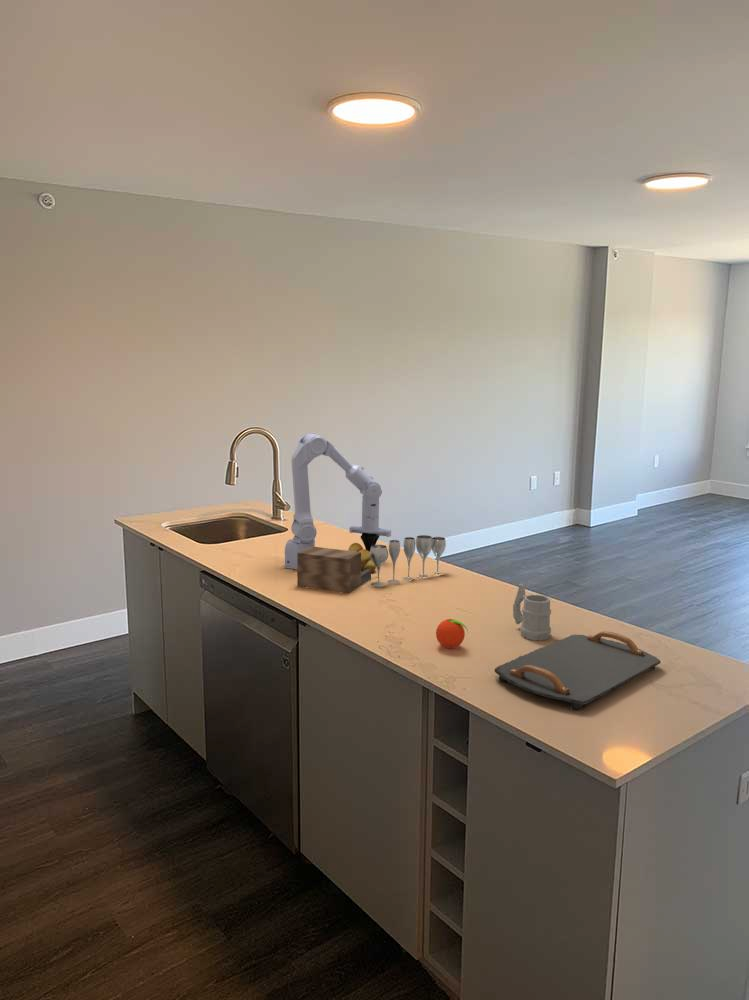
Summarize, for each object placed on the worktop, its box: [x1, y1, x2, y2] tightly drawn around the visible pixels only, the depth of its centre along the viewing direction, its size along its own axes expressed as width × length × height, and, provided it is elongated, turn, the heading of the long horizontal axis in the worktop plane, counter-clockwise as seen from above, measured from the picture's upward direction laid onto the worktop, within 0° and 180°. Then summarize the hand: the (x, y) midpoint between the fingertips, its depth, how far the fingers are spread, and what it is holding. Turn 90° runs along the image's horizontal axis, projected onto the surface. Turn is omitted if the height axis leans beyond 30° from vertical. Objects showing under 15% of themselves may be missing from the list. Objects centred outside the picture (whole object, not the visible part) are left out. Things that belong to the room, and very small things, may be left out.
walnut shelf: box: [296, 546, 372, 595], centre depth 236 cm, size 17×17×10 cm
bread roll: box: [347, 542, 377, 573], centre depth 251 cm, size 13×10×8 cm
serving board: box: [494, 630, 662, 712], centre depth 170 cm, size 39×23×6 cm, turn 134°
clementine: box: [435, 618, 469, 649], centre depth 185 cm, size 8×7×7 cm
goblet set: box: [369, 534, 447, 587], centre depth 241 cm, size 28×6×13 cm, turn 123°
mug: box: [512, 583, 552, 642], centre depth 195 cm, size 8×12×12 cm, turn 33°
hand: (369, 555), depth 261 cm, fingers closed
